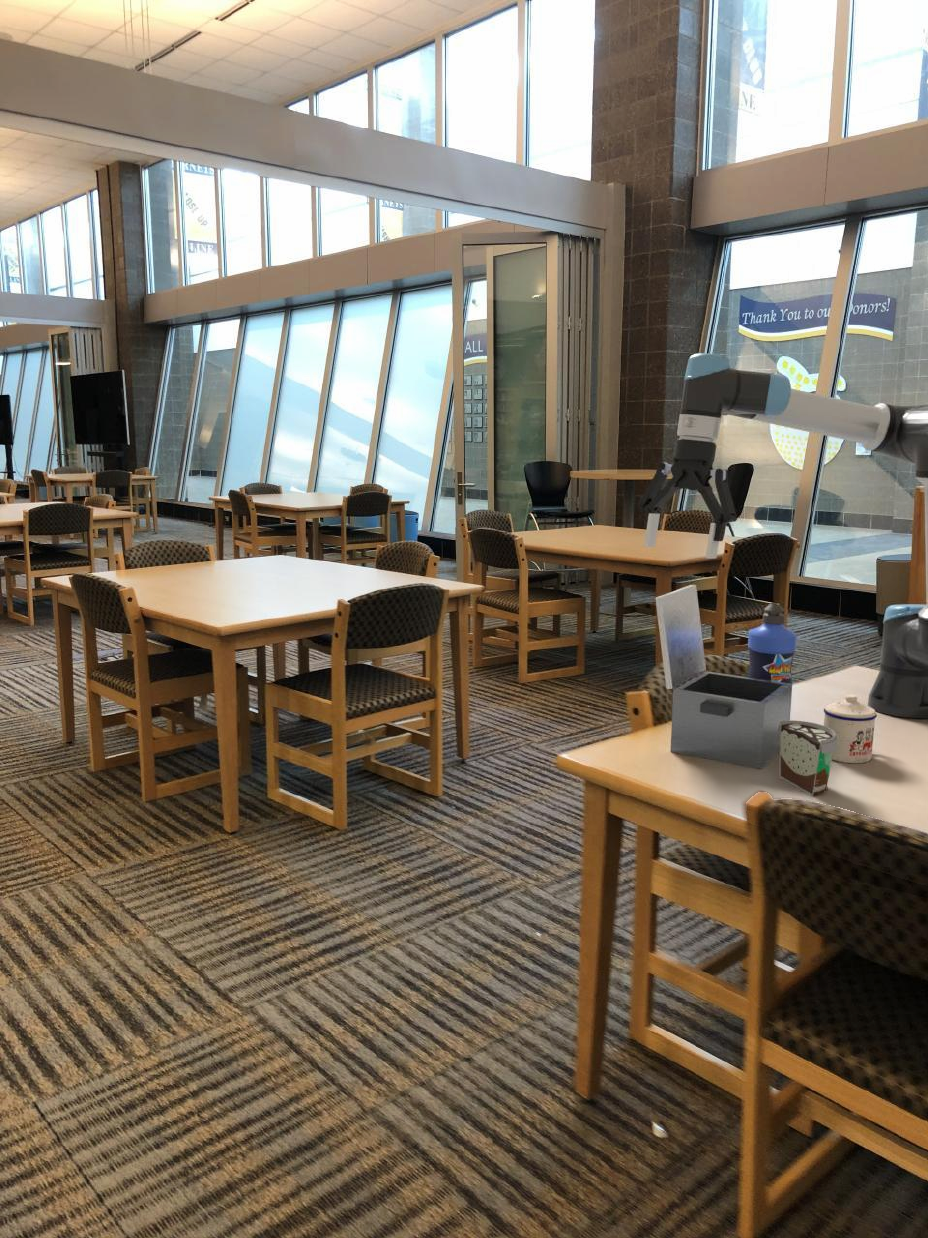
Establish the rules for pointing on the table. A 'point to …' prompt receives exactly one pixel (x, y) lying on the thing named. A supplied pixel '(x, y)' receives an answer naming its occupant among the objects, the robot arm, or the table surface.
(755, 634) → the water bottle
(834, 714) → the teacup with lid
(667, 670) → the grey box lid
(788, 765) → the food container
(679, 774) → the table surface
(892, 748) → the table surface
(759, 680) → the grey storage box
